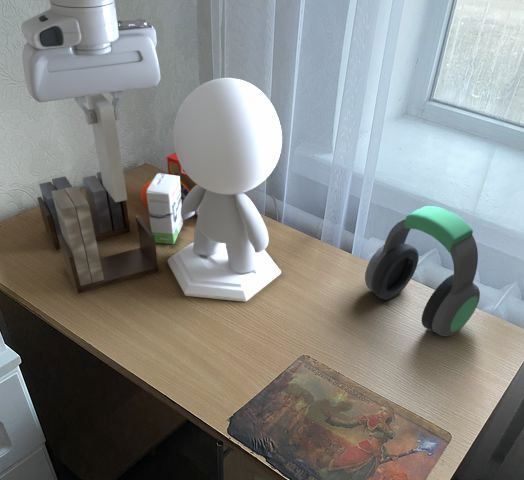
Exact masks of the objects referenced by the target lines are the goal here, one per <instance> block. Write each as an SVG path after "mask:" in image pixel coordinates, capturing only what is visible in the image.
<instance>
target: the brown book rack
mask: <svg viewBox="0 0 524 480" xmlns="http://www.w3.org/2000/svg"><path fill="white" fill-rule="evenodd" d="M51 192H52V196H53V200H54V204H55V208H56V212H57V216H58V220H59V224H60V228H61V231H62V235H63V236H62V235H58V236H57V237H58V240H59V244H60V248H61V249H60V252H61V255H62V259H63V263H64V267H65V270H66V273H67V275H68V277H69V278H70V281H71V282H72V285H73V286H74V288H75V290H76V292H77V294H80V293H83V292H84V293H85V292H87V291H91V290H95V289H99V288H102V287H105V286H109V285H112V284H116V283H120V282H124V281H127V280H132V279H134V278H137V277H141V276H145V275H149V274H152V273H156V272H158V271H159V265H158V256H157V248H156V247H157V246H156V243H155V238H154V235H153V234H152V232H151V229H150V228H149V227H148V226H147V224H146V223H145V222H144V220H143V219H142V217H140V216H136V217H135V222H136V223H135V224H136V229H137V237H138V245H139V247H137V248H134V249H130V250H126V251H122V252H118V253H114V254H110V255H107V256H103V257H100V252H99V248H98V243H97V242H98V241H97V240H96V238H95V233H94V228H93V223H92V218H91V213H90V208H89V204H88V201H87V198H86V197H85V196H84V195H83V193H82V191H81V190H80V188H79V186H77V185H75V186H72V187H70V188H65V190H64V189H60V190H55V191H51Z"/></svg>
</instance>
